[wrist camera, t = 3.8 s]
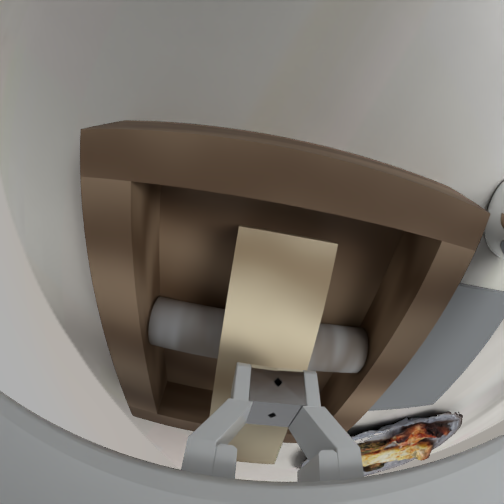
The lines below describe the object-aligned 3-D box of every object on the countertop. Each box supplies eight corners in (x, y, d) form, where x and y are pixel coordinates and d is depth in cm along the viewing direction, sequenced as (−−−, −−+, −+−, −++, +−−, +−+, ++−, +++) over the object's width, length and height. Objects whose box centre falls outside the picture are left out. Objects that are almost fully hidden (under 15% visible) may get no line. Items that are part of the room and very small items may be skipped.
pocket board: (125, 120, 12) (80, 129, 9) (449, 187, 13) (490, 213, 9) (144, 381, 23) (132, 415, 19) (331, 408, 23) (335, 442, 20)
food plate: (484, 386, 23) (492, 406, 20) (424, 450, 34) (427, 464, 31) (304, 423, 26) (305, 450, 23) (298, 471, 38) (298, 487, 35)
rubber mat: (440, 279, 16) (443, 283, 15) (514, 293, 16) (517, 296, 16) (353, 408, 23) (354, 411, 23) (432, 401, 24) (432, 404, 23)
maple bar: (240, 224, 14) (238, 226, 12) (327, 240, 14) (338, 244, 12) (207, 437, 15) (203, 456, 14) (272, 445, 15) (274, 464, 14)
